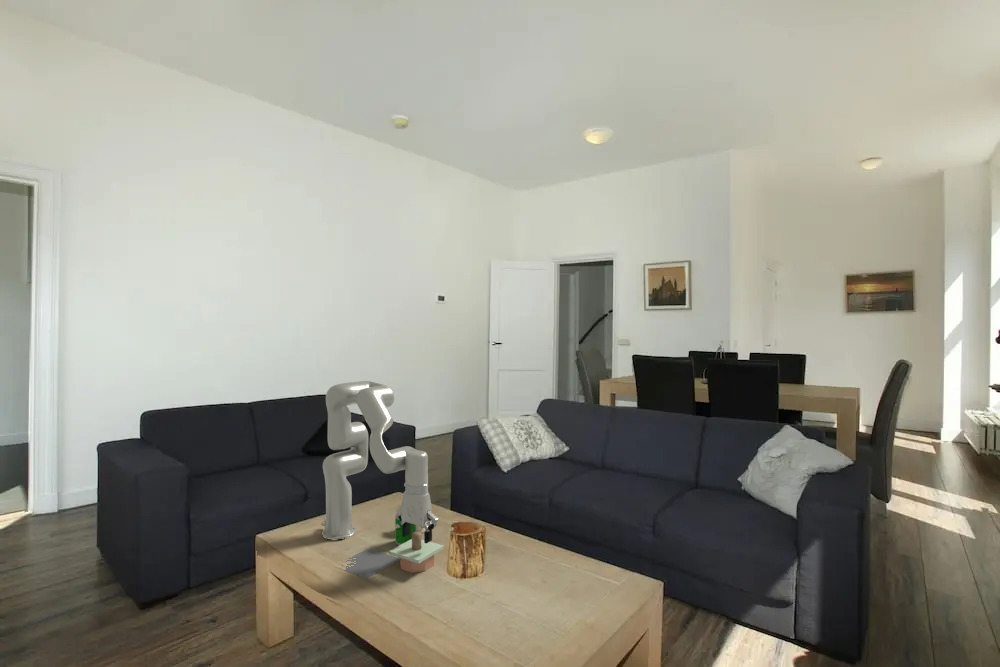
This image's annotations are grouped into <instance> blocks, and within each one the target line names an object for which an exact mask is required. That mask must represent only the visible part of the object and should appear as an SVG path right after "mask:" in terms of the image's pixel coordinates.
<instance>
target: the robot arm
mask: <svg viewBox="0 0 1000 667" xmlns="http://www.w3.org/2000/svg"><path fill="white" fill-rule="evenodd" d="M394 402H395V394H394V392H393V390H392V389H391V388H390V386H388V385H385V384H383V383H377V382H374V381H371V380H363V381H362V380H361V381H353V382H352V381H350V382H344V383H343V382H342V383H337V384H334V385H332V386H330V387H329V389H328V390H326V393H325V406H326V410H327V444H328V447H329V449H331V451H332V450H333V451H339V452H336V453H332V454H329V455H328V456H326V457H325V458H324V459H323V461H322V471H323V475H324V476H323V477H324V483H325V519H324V520H323V521H322V522H321V524H320V525H321V526H322V527H324V530H323V531H322V532H321V536H322V535H323V536H324V537H326V538H330V539H342V538H346V537H349V538H350V536H351V537H353V536H354V535H353V534H354V533H355V532H356V533H357V529H356V527H355V526H354V525H353V520H352V519H353V515H352V514H353V513H352V512H353V510H352V509H353V508H352V506H353V505H352V503H353V502H352V497H353V494H352V490H353V489H352V486H351V483H350V482H349V481H348V479H347V477H349V476H351V475H352V476H353V475H355V474H358V473H361V472H364V470H366V468H367V465H368V461H369V452H370V455H371V457H372V459H373V461H374V463H375V465H376V467H377V468H378V469H379V470H380V471H381V472H382V473H383V474H387V475H389V474H393V473H397V472H399V471H405V472H404V474H405V476H404V478H405V482H404V484H403V487H405V489H404V490H405V491H403V495H402V499H401V507H400V508H398V509H396V514H398V518H399V520H400V521H401V525H402V537H405V536H407V535H409V534H410V523H411V524H415V525H419V526H422V525H423V526H424V528H425V531H424V532H423V534H424V535H423V536H424V538H423V540H424V543H426V544H427V543H428V542H433V541H432V540H433V530H434V528H436V526H437V524H438V522H439V518H438V517H437V516H436V515H435V514H434V513H433V511H432V502H431V495H430V492H429V455H428V453H427V452H426V451H424V450H420V449H419V450H418V449H416V448H414V447H412V446H407V445H406V446H401V447H397V448H394V449H390V450H388V449H387V447H386V446H385V444H384V441H383V434H384V433H385V432H386V431H388V430H389V429H390V427H392V425H393V424H394V418H393V416H392V414H391V413H390V411H389V410H388V408H389V407H391V406H393V404H394ZM352 405H353V406H354V405H357V406H358V409H359V410H360V412H361V414H362V416H363V418H364V419H365V421H366V423H367V426H368V427H369V429H370V432H371V433H370V435H369V432H368V429H367V427H366V425H365V423H363V422H361V421H353V422H352V413H351V411H350V409H349V407H348V406H352ZM346 449H348V450H346ZM341 450H343V451H341ZM427 524H428V526H427ZM356 533H355V534H356ZM352 535H353V536H352ZM346 539H347V538H346Z"/></svg>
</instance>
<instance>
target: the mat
mask: <svg viewBox="0 0 1000 667" xmlns="http://www.w3.org/2000/svg"><path fill="white" fill-rule="evenodd" d="M351 557H352V558H351ZM351 557H349V558H347V559H352V560H347V561H351V562H354V561H356V562H354V563H356V564H354V563H350V564H347V565H350V566H351V565H354V566H351V567H349V566H346V570H343V571H345V572H347V573H351V574H353V575H356V576H358V577H361V578H364V579H366V580H368V579H369V578H371V577H373V576H374V575H376V574H378V573H380V572H382V571H384V570H386V569H387V568H389V567H391V566H392V565H394V564H396V563H398V562H399V561H400V557H397V556H393V555H390V554H387V553H384V552H380V551H377V550H374V549H371V548H366V549H365V550H363V551H360V552H358V553H357V554H355V555H353V556H351ZM353 558H356V559H353ZM347 561H346V562H347ZM342 566H343V565H342ZM347 567H348V568H347Z"/></svg>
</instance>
